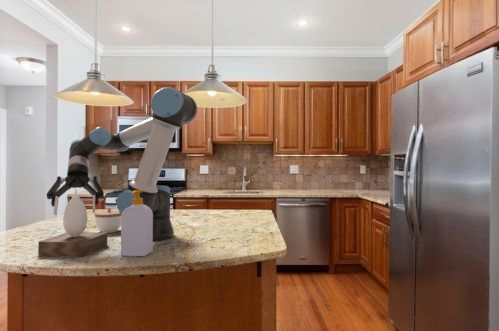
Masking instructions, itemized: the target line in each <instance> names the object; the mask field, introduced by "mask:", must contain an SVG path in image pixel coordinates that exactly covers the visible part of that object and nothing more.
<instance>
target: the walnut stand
mask: <svg viewBox="0 0 499 331" xmlns="http://www.w3.org/2000/svg"><path fill="white" fill-rule="evenodd" d="M106 246H108V233H102V232H93V231H84V232H83V233H81V235H79V236H78V237H73V236H70V234H67V233H66V232H64V233H61V234H58V235H56V236H51V237H48V238H46V239H42V240H39V241H38V249H37V250H38V254H37V255H38V257H59V256H70V257H69V258H83V256H84V257H86V256H88V255H89V254H92V253H94V252H96V251H98V250H100V249H102V248H104V247H106Z"/></svg>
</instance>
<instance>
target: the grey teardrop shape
mask: <svg viewBox="0 0 499 331" xmlns="http://www.w3.org/2000/svg"><path fill="white" fill-rule="evenodd" d="M74 189H75V190H74V195H72V196H71V198H70V199H69V201H68V203H67V205H66V207H65V209H64V213H63V220H62V221H63V223H62V224H63V228H64V231H65V233H67V234H70V236H73V237H78V236H79V235H81V233H83V232H85V230H86V229H87V228H86V227H87V224H88V212H87V208H86V205H85V203H84V201H83V200H82V198H80V197H81V196H80V195H77V194H78V193H77V188H74Z"/></svg>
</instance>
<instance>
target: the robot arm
mask: <svg viewBox="0 0 499 331" xmlns="http://www.w3.org/2000/svg"><path fill="white" fill-rule="evenodd" d="M150 107H151V111H152V115H151V117H150V118H148V119H146V120H143V121H141V122H139V123H136V124H135V125H132V126H129V127H127V128H126V129H124V130H122V131H119V132H117V133H115V134H114V133H111V132H110V131H109V130H108V129H107V128H105V127H103V126H97V127H95V128H94V129H92V130H91V131H90V132H89V133H88V134H87V135H85V136H84V137H83V138H82V139H75V140H73V141H72V142H71V143H70V146H69V154H68V164H67V173H66V177H62V176H57V177H56V181H55V182H54V184H53V185H52V186H51V187H50V189H49V190H48V191H47V193H46V198H47V200H51V202H50V204H51V207H53V215H54V216H57V215H58V208H59V202H60V201H59V198H60V197H61V196H62V195H64V194H65V193H66V192H68V191H70V189H77V188H78V189H79V188H80V189H82V188H83V189H84V190H85V191H87V192H88V193H89V194H90V195H91V196H92V213H94V214H95V213H96V205H99V198H104V196H105V194H104V193H105V192H104V190H103V188H102V186H101V185H100V183H99V181H98V176H96V175H95V176H93V177H90V176H89V171H90V170H89V169H90V157H91V156H93V155H94V154H96V153H97V152H98V151H99V150H102V151H111V152H112V151H113V152H114V151H115V152H125V151H128V149H130V147H131V146H132V145H134V144H137V143H139V142H142V141H144V140H147V143H146V145H145V149H144V151H143V154H142V156H141V159H140V162H139V165H138V167H137V172H136V174H135V177H134V179H133V180H130V181H129V182H128V185H127V187H126V189H125V190H123V191H122V192H120V193H119V194H118V196H117V198H116V208H117V211H119V213H120V214H121V215H122V212H123V211H124V210H125V209H126V208H128V207H130V206H132V199H133V198H136V193H134V194H131V193H132V191H135V190H140V191H142V193H140V198H143V205H146V206H148V207H150V209H151V210H152V213H153V241H162V240H168V239H172V238H173V237H175V233H174V232H175V231H174V227H173V224H172V221H171V196H172V195H171V188H170V187H169V186H168V185H158V184H157V183H158V181H159V177H160V174H161V172H162V169H163V166H164V163H165V160H166V158H167V155H168V152H169V150H170V146H171V143H172V141H173V138H174V136H175V132H176V131H177V130H179V129H181V127H183V126H185V125H187V124H189V123H190V122H192V121H193V120H194V119H195V118H196V116H197V113H198V106H197V102H196V101H195V99H193V97H191V96H190V95H188V94H185V93H184V92H182V91H180V90H179V89H176V88H174V87H168V86H166V87H162V88H160V89H158V90H157V91H155V92H154V94H153V95H152V97H151V100H150ZM64 182H65V183H64ZM89 182H91V184H93V186H94V187H93V186H92V185H90V184H89ZM63 183H64V184H63Z"/></svg>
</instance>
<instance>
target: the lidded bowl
mask: <svg viewBox="0 0 499 331" xmlns="http://www.w3.org/2000/svg"><path fill="white" fill-rule="evenodd" d="M94 223H95V226H96V229H97V230H99V231H100V233H107V234H109V233H116V232H118V230H119V229H121V214H120V213H119V210H111V208H107V210H105V211H97V212H95V213H94Z"/></svg>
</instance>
